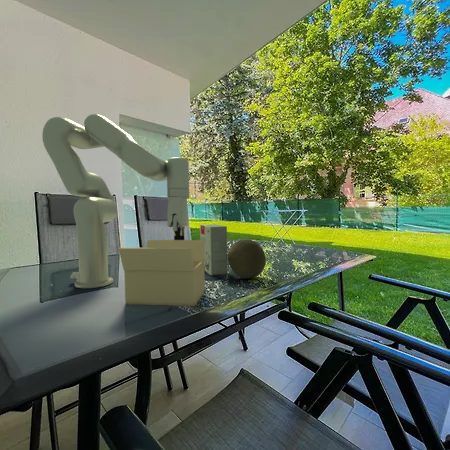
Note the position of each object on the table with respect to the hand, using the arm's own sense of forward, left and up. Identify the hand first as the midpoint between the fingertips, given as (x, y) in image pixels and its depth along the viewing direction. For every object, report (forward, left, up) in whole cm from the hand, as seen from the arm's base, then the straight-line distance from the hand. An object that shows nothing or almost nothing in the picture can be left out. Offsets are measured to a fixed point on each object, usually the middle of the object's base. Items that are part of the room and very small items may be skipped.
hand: (179, 246), depth 95 cm
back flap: (0, -5, 0) cm, 5 cm away
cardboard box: (0, -13, -14) cm, 19 cm away
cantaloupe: (+23, +10, -14) cm, 29 cm away
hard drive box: (+8, +23, -14) cm, 28 cm away
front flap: (0, -21, 0) cm, 21 cm away
